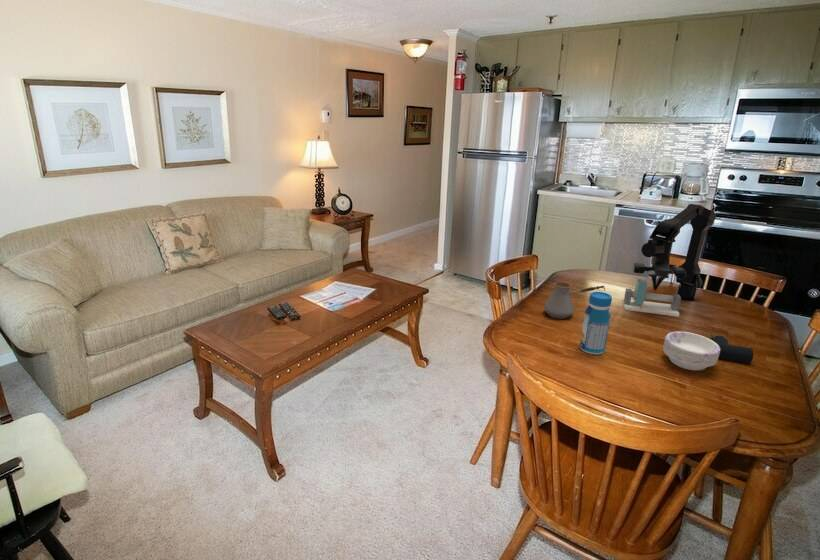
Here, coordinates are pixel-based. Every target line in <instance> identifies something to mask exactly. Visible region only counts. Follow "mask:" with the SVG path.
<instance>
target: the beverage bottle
mask: <svg viewBox="0 0 820 560" xmlns="http://www.w3.org/2000/svg"><path fill="white" fill-rule="evenodd" d="M588 299H589V300H588V304H589V305H588V306H587V307H586V309H585V310H584V316H583V318H582V329H581V336H580V341H579V349H581V351H583V352H585V353H587V354H590V355H602V354H604V353H605V351H606V347H607V346H606V345H607V341H608V335H609V331H610V330H609V329H610V327H611V318H612V312H611V309H610V307H611V305H612V302H613V301H612V299H613V297H612V295H611V294H609V293H607V292H605V291H591V292H590V294H589V297H588Z"/></svg>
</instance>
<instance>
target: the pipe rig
mask: <svg viewBox="0 0 820 560" xmlns="http://www.w3.org/2000/svg"><path fill="white" fill-rule="evenodd" d="M636 294H637V291H635V290H632V288H625V292H624V298H622V304H623V308H624V310H626V311H633V312H639V313H640V312H641V313H648V314H653V315H654V314H656V315H664V316H671V317H678V318H679V317H680V312H679V309H680V305H681V301H682V299H681V297H680V295H678V294H676V293H673V294H671V295H670V294H663V293H656V292H648V291H646V293H645V298H644V303H643V305H642V304H635V302H634V298H636ZM632 298H633V299H632ZM645 300H652V301H645ZM654 301H659V302H654ZM662 302H666V303H662Z"/></svg>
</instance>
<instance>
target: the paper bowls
mask: <svg viewBox="0 0 820 560" xmlns="http://www.w3.org/2000/svg"><path fill="white" fill-rule="evenodd" d="M662 351H663V353H664V354H665V355H666V356H667V357H668V359H669V360H670V362H671V363H672V364H674V365H675V366H677V367H679V368H681V369H684V370H689V371H703V370H706V368H710V367H713V366H715V365H716V364H717V362H718V360H719V358H718V357H719V353H720V347H719V345H718V344H717V343H715V342H714V341H712V340H711V339H710V337H706V336H703V335H700V334H697V333H693V332H689V331H671V332H669V333H667V334H666V335H665V337H664V342H663V346H662Z"/></svg>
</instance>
